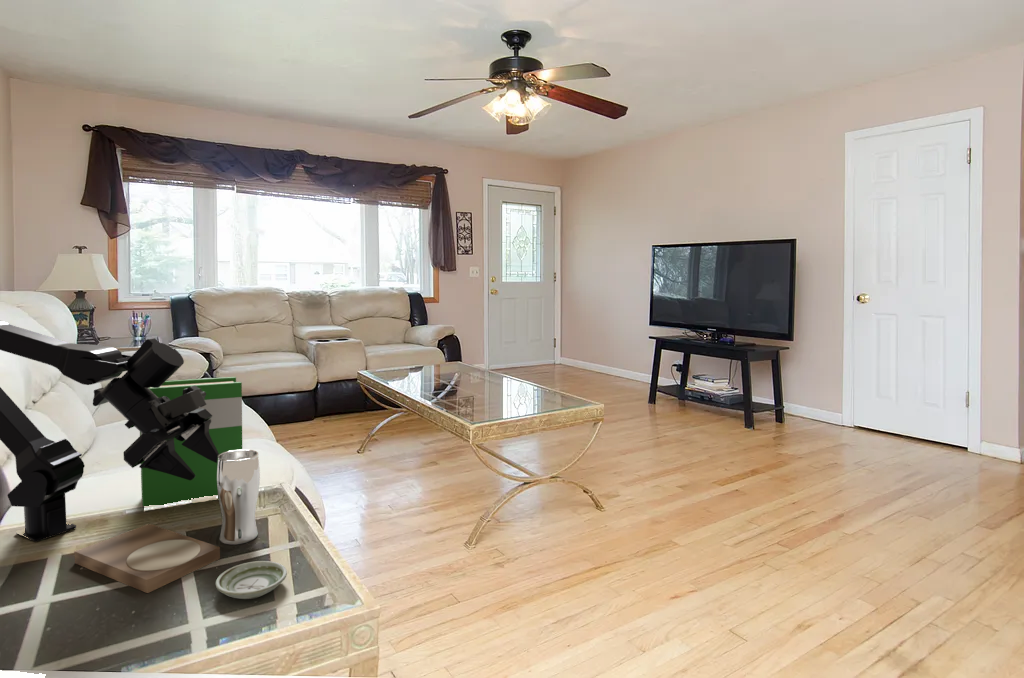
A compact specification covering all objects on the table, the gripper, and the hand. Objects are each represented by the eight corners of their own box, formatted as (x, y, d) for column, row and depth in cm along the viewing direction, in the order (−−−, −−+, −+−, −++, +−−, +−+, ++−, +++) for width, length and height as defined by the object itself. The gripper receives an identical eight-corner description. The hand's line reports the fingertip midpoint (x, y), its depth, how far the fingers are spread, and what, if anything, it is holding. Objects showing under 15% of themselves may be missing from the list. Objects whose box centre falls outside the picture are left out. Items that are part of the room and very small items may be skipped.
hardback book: (236, 484, 129) (235, 376, 126) (242, 495, 123) (241, 382, 120) (141, 499, 119) (138, 382, 117) (143, 512, 113) (139, 389, 110)
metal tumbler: (243, 548, 100) (242, 462, 98) (207, 543, 101) (206, 458, 100) (268, 531, 107) (267, 451, 105) (234, 526, 108) (233, 447, 107)
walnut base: (74, 563, 93) (74, 549, 93) (149, 534, 104) (149, 522, 104) (147, 593, 85) (147, 578, 85) (220, 558, 96) (219, 545, 96)
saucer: (292, 572, 93) (292, 558, 93) (279, 607, 84) (279, 590, 83) (227, 575, 91) (227, 561, 91) (206, 611, 82) (206, 594, 82)
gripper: (140, 384, 91) (213, 454, 93) (200, 365, 110) (260, 424, 112) (90, 432, 92) (164, 501, 94) (158, 405, 111) (219, 464, 112)
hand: (206, 469), depth 103 cm, fingers open, 9 cm apart
